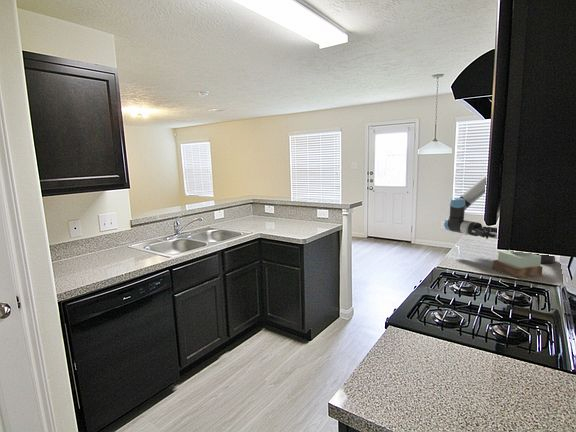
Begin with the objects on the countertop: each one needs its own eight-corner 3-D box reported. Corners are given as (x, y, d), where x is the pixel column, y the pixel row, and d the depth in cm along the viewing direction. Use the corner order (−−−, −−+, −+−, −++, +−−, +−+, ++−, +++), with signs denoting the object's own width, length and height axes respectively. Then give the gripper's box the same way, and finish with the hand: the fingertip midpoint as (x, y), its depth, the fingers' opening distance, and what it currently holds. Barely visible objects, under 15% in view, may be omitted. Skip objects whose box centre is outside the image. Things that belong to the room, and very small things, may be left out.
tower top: (517, 259, 166) (518, 249, 165) (540, 266, 154) (541, 256, 153) (497, 260, 163) (498, 251, 162) (519, 268, 151) (520, 257, 150)
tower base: (516, 267, 167) (517, 258, 167) (541, 277, 154) (542, 266, 153) (492, 269, 165) (493, 260, 164) (515, 279, 151) (516, 268, 151)
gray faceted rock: (512, 257, 154) (529, 242, 150) (499, 244, 161) (515, 230, 156) (521, 260, 158) (538, 246, 154) (508, 248, 165) (524, 234, 160)
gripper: (485, 232, 184) (526, 240, 165) (455, 237, 174) (494, 246, 155) (486, 219, 183) (527, 226, 164) (456, 223, 173) (496, 230, 154)
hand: (511, 235), depth 159 cm, fingers open, 13 cm apart
